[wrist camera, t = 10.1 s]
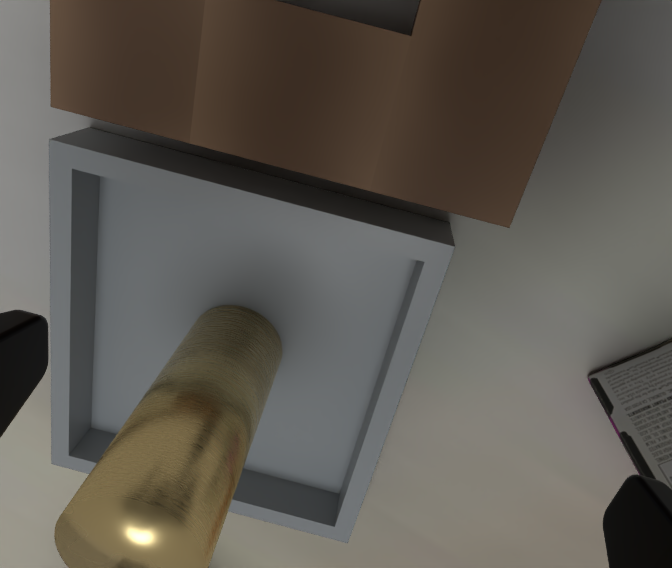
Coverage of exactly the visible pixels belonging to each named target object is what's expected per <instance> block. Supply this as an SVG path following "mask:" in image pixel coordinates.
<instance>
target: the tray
mask: <svg viewBox="0 0 672 568" xmlns="http://www.w3.org/2000/svg"><path fill="white" fill-rule="evenodd" d="M49 199H50V330H51V460H52V464H54V465H58V466H61V467H65V468H69V469H72V470H76V471H80V472H84V473H87V474H90V472H91V471H92V470H93V468H94V467H95V465H96V464H97V462H98V461H99V460H100V458H101V457H102V455H103V454H104V452H105V451H106V449H107V448H108V447H109V445H110V444H111V442H112V441H113V439H114V438H115V437H116V435H117V434H118V432H119V431H120V429H121V428H122V426H123V425H124V424H125V422H126V421H127V419H128V418H129V416H130V415H131V414H132V412H133V411H134V409H135V408H136V406H137V405H138V404H139V402H140V401H141V399H142V398H143V396H144V395H145V393H146V392H147V391H148V389H149V388H150V386H151V385H152V383H153V382H154V381H155V379H156V378H157V376H158V375H159V373H160V372H161V370H162V369H163V368H164V366H165V365H166V363H167V362H168V360H169V359H170V358H171V356H172V355H173V353H174V352H175V350H176V349H177V347H178V346H179V345H180V343H181V342H182V340H183V339H184V337H185V336H186V335H187V333H188V332H189V330H190V329H191V327H192V326H193V325H194V323H195V322H196V320H197V319H198V318H199V317H200V316H201V315H202V314H203V313H204V312H206V311H207V310H210V309H212V308H214V307H217V306H222V305H237V306H243V307H246V308H249V309H251V310H254V311H256V312H258V313H259V314H261V315H262V316H264V317H265V318H266V319H267V320H268V321H269V322H270V323H271V324H272V325H273V326H274V328H275V329H276V331H277V332H278V334H279V336H280V339H281V342H282V352H283V353H282V359H281V362H280V365H279V368H278V371H277V374H276V377H275V379H274V382H273V385H272V388H271V391H270V394H269V396H268V399H267V402H266V405H265V408H264V411H263V413H262V416H261V419H260V422H259V425H258V428H257V430H256V433H255V436H254V439H253V442H252V445H251V447H250V450H249V453H248V456H247V459H246V462H245V464H244V467H243V470H242V473H241V476H240V479H239V481H238V484H237V487H236V490H235V493H234V496H233V498H232V501H231V504H230V507H229V510H228V511H229V512H233V513H237V514H240V515H244V516H248V517H252V518H255V519H259V520H263V521H266V522H270V523H274V524H278V525H281V526H285V527H289V528H293V529H296V530H300V531H304V532H308V533H311V534H315V535H319V536H322V537H326V538H330V539H334V540H337V541H341V542H345V543H348V541H349V538H350V536H351V533H352V530H353V527H354V525H355V522H356V519H357V516H358V514H359V511H360V508H361V505H362V503H363V500H364V497H365V494H366V491H367V489H368V486H369V483H370V480H371V478H372V475H373V472H374V469H375V467H376V464H377V461H378V458H379V456H380V453H381V450H382V447H383V445H384V442H385V439H386V436H387V434H388V431H389V428H390V425H391V423H392V420H393V417H394V414H395V412H396V409H397V406H398V403H399V401H400V398H401V395H402V392H403V390H404V387H405V384H406V381H407V379H408V376H409V373H410V370H411V368H412V365H413V362H414V359H415V357H416V354H417V351H418V348H419V346H420V343H421V340H422V337H423V335H424V332H425V329H426V326H427V324H428V321H429V318H430V315H431V313H432V310H433V307H434V304H435V302H436V299H437V296H438V293H439V290H440V288H441V285H442V282H443V279H444V277H445V274H446V271H447V268H448V266H449V263H450V260H451V257H452V255H453V252H454V249H455V243H454V239H453V235H452V231H451V227H450V223H448V222H444V221H440V220H437V219H433V218H429V217H425V216H422V215H418V214H414V213H410V212H406V211H403V210H399V209H395V208H391V207H388V206H384V205H380V204H376V203H372V202H369V201H365V200H361V199H357V198H354V197H350V196H346V195H342V194H338V193H335V192H331V191H327V190H323V189H320V188H316V187H312V186H308V185H304V184H301V183H297V182H293V181H289V180H286V179H282V178H278V177H274V176H270V175H267V174H263V173H259V172H255V171H252V170H248V169H244V168H240V167H236V166H233V165H229V164H225V163H221V162H218V161H214V160H210V159H206V158H202V157H199V156H195V155H191V154H187V153H184V152H180V151H176V150H172V149H168V148H165V147H161V146H157V145H153V144H150V143H146V142H142V141H138V140H134V139H131V138H127V137H123V136H119V135H116V134H112V133H108V132H104V131H100V130H97V129H93V128H86V129H82V130H79V131H76V132H72V133H69V134H65V135H62V136H58V137H55V138H52V139H49Z"/></svg>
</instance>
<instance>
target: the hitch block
mask: <svg viewBox="0 0 672 568" xmlns="http://www.w3.org/2000/svg"><path fill="white" fill-rule="evenodd" d="M600 3H601V0H420V1H419V5H418V9H417V13H416V16H415V20H414V24H413V27H412V31H411V35H410V36H409V35H405V34H401V33H397V32H394V31H390V30H386V29H382V28H378V27H375V26H371V25H367V24H363V23H359V22H356V21H352V20H348V19H344V18H340V17H337V16H333V15H329V14H325V13H321V12H318V11H314V10H310V9H306V8H302V7H299V6H295V5H291V4H287V3H283V2H280V1H276V0H50V72H51V107H54V108H58V109H61V110H65V111H69V112H73V113H76V114H80V115H84V116H88V117H92V118H95V119H99V120H103V121H107V122H110V123H114V124H118V125H122V126H126V127H129V128H133V129H137V130H141V131H144V132H148V133H152V134H156V135H160V136H163V137H167V138H171V139H175V140H178V141H182V142H186V143H190V144H194V145H197V146H201V147H205V148H209V149H213V150H216V151H220V152H224V153H228V154H231V155H235V156H239V157H243V158H247V159H250V160H254V161H258V162H262V163H265V164H269V165H273V166H277V167H281V168H284V169H288V170H292V171H296V172H299V173H303V174H307V175H311V176H315V177H318V178H322V179H326V180H330V181H333V182H337V183H341V184H345V185H349V186H352V187H356V188H360V189H364V190H367V191H371V192H375V193H379V194H383V195H386V196H390V197H394V198H398V199H401V200H405V201H409V202H413V203H417V204H420V205H424V206H428V207H432V208H436V209H439V210H443V211H447V212H451V213H454V214H458V215H462V216H466V217H470V218H473V219H477V220H481V221H485V222H488V223H492V224H496V225H500V226H504V227H507V228H509V227H510V225H511V222H512V220H513V217H514V215H515V213H516V210H517V208H518V205H519V203H520V200H521V198H522V195H523V193H524V190H525V188H526V185H527V183H528V180H529V178H530V176H531V173H532V171H533V168H534V166H535V163H536V161H537V158H538V156H539V153H540V151H541V148H542V146H543V143H544V141H545V139H546V136H547V134H548V131H549V129H550V126H551V124H552V121H553V119H554V116H555V114H556V111H557V109H558V106H559V104H560V102H561V99H562V97H563V94H564V92H565V89H566V87H567V84H568V82H569V79H570V77H571V74H572V72H573V69H574V67H575V65H576V62H577V60H578V57H579V55H580V52H581V50H582V47H583V45H584V42H585V40H586V37H587V35H588V32H589V30H590V28H591V25H592V23H593V20H594V18H595V15H596V13H597V10H598V8H599V5H600Z"/></svg>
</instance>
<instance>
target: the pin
mask: <svg viewBox="0 0 672 568" xmlns="http://www.w3.org/2000/svg"><path fill="white" fill-rule="evenodd" d="M282 353H283V352H282V342H281V339H280V336H279V334H278V332H277V331H276V329H275V328H274V326H273V325H272V324H271V323H270V322H269V321H268V320H267V319H266V318H265V317H264V316H262V315H261V314H259V313H258V312H256V311H254V310H251V309H249V308H246V307H243V306H237V305H222V306H217V307H214V308H212V309H210V310H207V311H206V312H204V313H203V314H202V315H201V316H200V317H199V318H198V319H197V320H196V322H195V323H194V325H193V326H192V327H191V329H190V330H189V332H188V333H187V335H186V336H185V337H184V339H183V340H182V342H181V343H180V345H179V346H178V347H177V349H176V350H175V352H174V353H173V355H172V356H171V358H170V359H169V360H168V362H167V363H166V365H165V366H164V368H163V369H162V370H161V372H160V373H159V375H158V376H157V378H156V379H155V381H154V382H153V383H152V385H151V386H150V388H149V389H148V391H147V392H146V393H145V395H144V396H143V398H142V399H141V401H140V402H139V404H138V405H137V406H136V408H135V409H134V411H133V412H132V414H131V415H130V416H129V418H128V419H127V421H126V422H125V424H124V425H123V426H122V428H121V429H120V431H119V432H118V434H117V435H116V437H115V438H114V439H113V441H112V442H111V444H110V445H109V447H108V448H107V449H106V451H105V452H104V454H103V455H102V457H101V458H100V460H99V461H98V462H97V464H96V465H95V467H94V468H93V470H92V471H91V472H90V474H89V475H88V477H87V478H86V480H85V481H84V482H83V484H82V485H81V487H80V488H79V490H78V491H77V493H76V494H75V495H74V497H73V498H72V500H71V501H70V503H69V504H68V505H67V507H66V508H65V510H64V511H63V513H62V514H61V516H60V517H59V519H58V521H57V523H56V527H55V535H54V536H55V543H56V546H57V550H58V552H59V554H60V556H61V558H62V559H63V561H64V562H65V564H66V565H67V566H68V567H69V568H208V566H209V563H210V561H211V558H212V555H213V552H214V549H215V546H216V544H217V541H218V538H219V535H220V532H221V529H222V527H223V524H224V521H225V518H226V515H227V513H228V510H229V507H230V504H231V501H232V498H233V496H234V493H235V490H236V487H237V484H238V481H239V479H240V476H241V473H242V470H243V467H244V464H245V462H246V459H247V456H248V453H249V450H250V447H251V445H252V442H253V439H254V436H255V433H256V430H257V428H258V425H259V422H260V419H261V416H262V413H263V411H264V408H265V405H266V402H267V399H268V396H269V394H270V391H271V388H272V385H273V382H274V379H275V377H276V374H277V371H278V368H279V365H280V362H281V359H282Z"/></svg>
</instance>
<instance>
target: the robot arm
mask: <svg viewBox="0 0 672 568" xmlns="http://www.w3.org/2000/svg"><path fill="white" fill-rule="evenodd" d="M47 365H48V323H47V320H46V319H45V318H44V317H43V316H41V315H38V314H34V313H30V312H26V311H23V310H12V311H8V312H4V313H0V437H1V436H2V435H3V433H4V432H5V430H6V429H7V427H8V426H9V425H10V423H11V422H12V420H13V419H14V417H15V416H16V415H17V413H18V412H19V410H20V409H21V407H22V406H23V405H24V403H25V402H26V400H27V399H28V397H29V396H30V395H31V393H32V392H33V390H34V389H35V387H36V386H37V385H38V383H39V382H40V380H41V379H42V377H43V376H44V374H45V372H46V369H47ZM603 531H604V537H605V543H606V549H607V556H608V562H609V568H672V489H671V488H669V487H668V486H667V485H666V484H665V483H663V482H661V481H659V480H656V479H652V478H648V477H645V476H641V475H631V476H630V477H628V478H627V479H626V480H625V482H624V483H623V485H622V486H621V488H620V489H619V491H618V492H617V494H616V495H615V497H614V498H613V500H612V501H611V503H610V504H609V506H608V507H607V509H606V511H605V514H604V518H603Z"/></svg>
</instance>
